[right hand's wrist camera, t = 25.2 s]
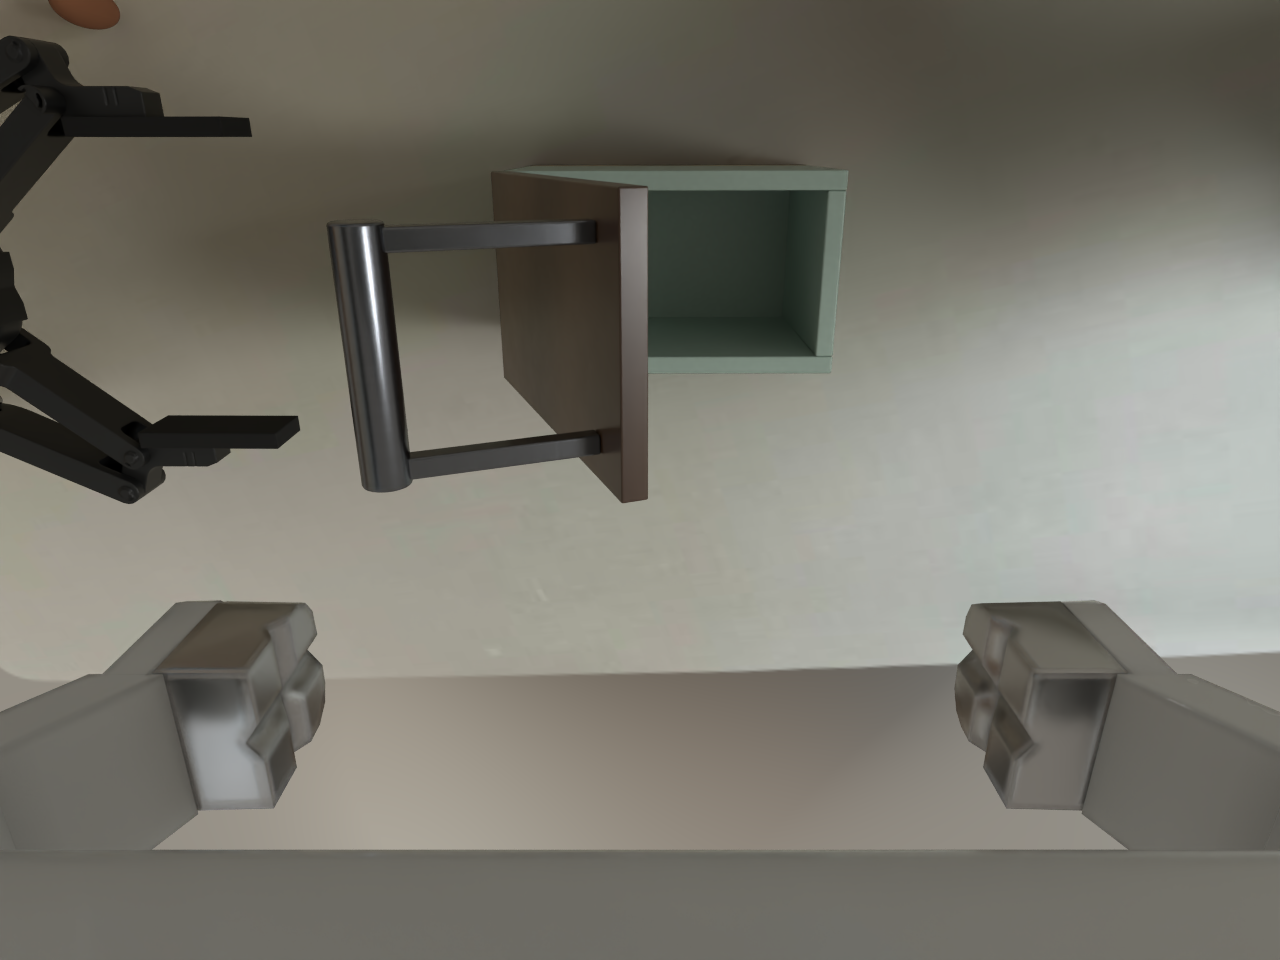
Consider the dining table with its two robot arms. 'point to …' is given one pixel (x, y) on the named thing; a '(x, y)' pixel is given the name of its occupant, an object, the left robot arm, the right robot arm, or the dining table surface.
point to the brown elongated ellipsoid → (88, 12)
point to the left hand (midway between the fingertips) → (265, 289)
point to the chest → (737, 263)
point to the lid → (517, 329)
